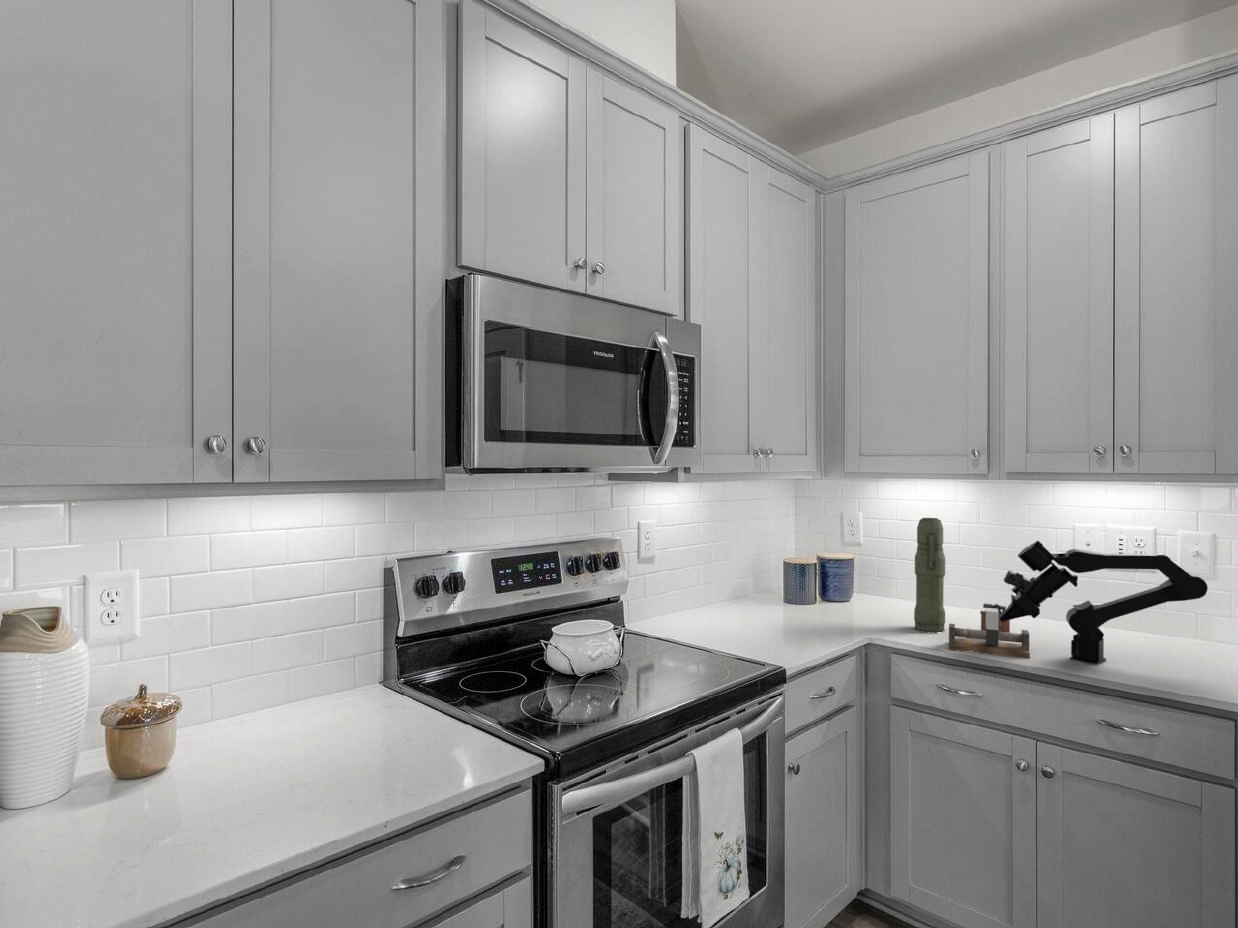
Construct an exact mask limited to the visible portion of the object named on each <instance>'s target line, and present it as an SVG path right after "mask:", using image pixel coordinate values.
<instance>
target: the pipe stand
mask: <svg viewBox="0 0 1238 928" xmlns="http://www.w3.org/2000/svg"><path fill="white" fill-rule="evenodd" d="M1012 642H1014V643H1012ZM948 650H949V651H955V650H959V652H964V651H973V652H972V653H974V652H978V654H984V653H987V654H986V655H994V654H997V655H996V656H1003V655H1005V656H1006V657H1013V656H1014V657H1013V658H1023V657H1024V659H1031V652H1030V632H1029V630H1027V629H1021V633H1016V632H1010V633H1007V632H998V646H996V645H986V631H985V630H981V629H973V628H972V629H971V628H963V627H962V628H961V627H956V624H955V623H951V622H949V623H948ZM1005 656H1004V657H1005Z"/></svg>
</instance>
